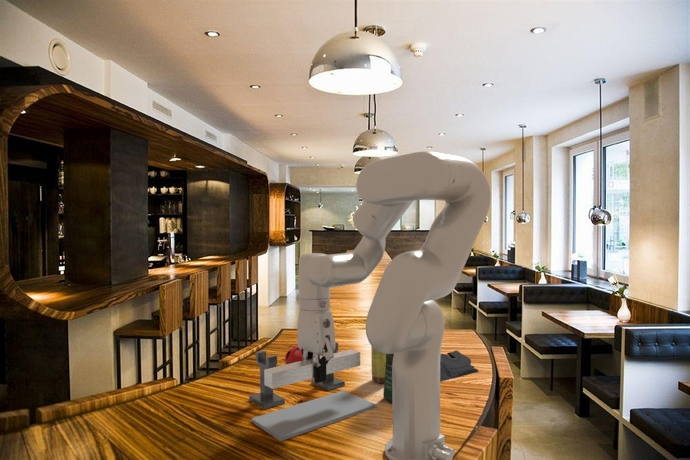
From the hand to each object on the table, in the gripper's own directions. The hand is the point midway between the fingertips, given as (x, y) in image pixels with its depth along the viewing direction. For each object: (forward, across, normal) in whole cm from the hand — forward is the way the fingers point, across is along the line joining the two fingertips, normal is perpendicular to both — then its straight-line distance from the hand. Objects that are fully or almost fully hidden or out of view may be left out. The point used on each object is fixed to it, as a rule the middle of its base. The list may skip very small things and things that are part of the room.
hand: (315, 378), depth 115 cm
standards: (+9, +15, -5) cm, 18 cm away
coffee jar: (+9, -7, -23) cm, 26 cm away
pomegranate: (+9, +32, -17) cm, 37 cm away
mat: (+9, 0, 0) cm, 9 cm away
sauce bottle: (+9, +7, -29) cm, 31 cm away
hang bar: (-1, 0, 0) cm, 1 cm away
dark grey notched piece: (+9, +2, -49) cm, 50 cm away
